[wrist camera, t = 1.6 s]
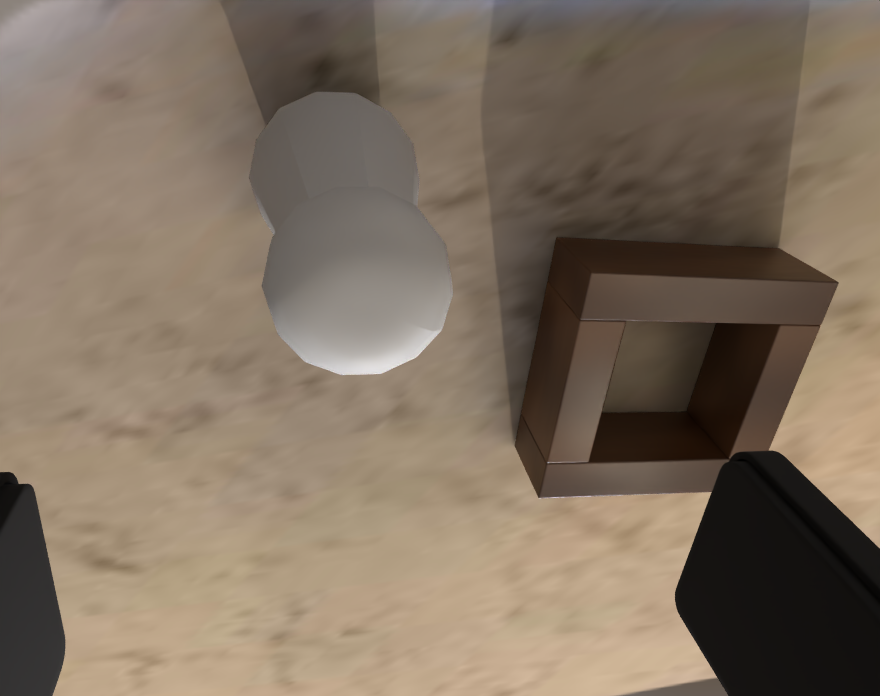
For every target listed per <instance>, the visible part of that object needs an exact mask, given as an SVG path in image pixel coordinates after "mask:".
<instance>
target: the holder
mask: <svg viewBox="0 0 880 696" xmlns="http://www.w3.org/2000/svg"><path fill="white" fill-rule="evenodd" d="M837 286H838V282H837V281H835V280H834V279H832V278H830V277H828V276H827V275H825V274H823V273H821V272H820V271H818V270H816V269H814V268H813V267H811V266H809V265H807V264H806V263H804V262H802V261H800V260H799V259H797V258H795V257H793V256H792V255H790V254H788V253H786V252H785V251H783V250H781V249H777V248H758V247H738V246H718V245H698V244H679V243H659V242H639V241H619V240H600V239H580V238H560V237H557V238H556V242H555V247H554V252H553V257H552V262H551V267H550V272H549V277H548V282H547V287H546V292H545V297H544V302H543V307H542V312H541V317H540V322H539V327H538V332H537V337H536V342H535V347H534V352H533V357H532V362H531V366H530V371H529V376H528V381H527V386H526V391H525V396H524V401H523V406H522V411H521V413H522V414H521V417H520V422H519V426H518V431H517V436H516V441H515V448H516V450H517V452H518V454H519V457H520V459H521V461H522V463H523V465H524V467H525V470H526V472H527V474H528V476H529V478H530V480H531V483H532V485H533V487H534V489H535V491H536V493H537V496H538V498H563V497H590V496H617V495H644V494H671V493H698V492H712V490H713V487H714V485H715V482H716V479H717V477H718V474H719V471H720V469H721V467H722V465H724V464H725V463H726V462H729V460H730V458H731V457H732V456H733V455H734V454H735V453H737V452H743V451H768V450H769V448H770V446H771V443H772V441H773V439H774V436H775V434H776V431H777V429H778V427H779V424H780V422H781V419H782V417H783V415H784V412H785V410H786V407H787V405H788V403H789V400H790V398H791V395H792V393H793V391H794V388H795V386H796V383H797V381H798V379H799V376H800V374H801V372H802V369H803V367H804V364H805V362H806V360H807V357H808V355H809V352H810V350H811V348H812V345H813V343H814V340H815V338H816V336H817V333H818V331H819V328H820V325H821V324H822V322H823V319H824V317H825V314H826V312H827V310H828V307H829V305H830V302H831V300H832V298H833V295H834V293H835V290H836V288H837ZM626 321H665V322H708V323H717V324H716V327H715V329H714V332H713V335H712V338H711V341H710V344H709V347H708V350H707V353H706V356H705V359H704V362H703V365H702V368H701V371H700V374H699V377H698V380H697V383H696V386H695V389H694V392H693V395H692V398H691V401H690V404H689V407H688V409H687V412H639V413H602V410H603V406H604V402H605V398H606V395H607V391H608V387H609V383H610V380H611V376H612V372H613V369H614V365H615V361H616V357H617V354H618V350H619V346H620V342H621V339H622V335H623V331H624V327H625V324H626Z"/></svg>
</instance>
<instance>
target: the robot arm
mask: <svg viewBox="0 0 880 696" xmlns="http://www.w3.org/2000/svg"><path fill="white" fill-rule="evenodd" d="M675 602H676V607H677V610H678V613H679V615H680V617H681V618H682V620H683V622H684V623H685V625H686V627H687V628H688V630H689V632H690V633H691V635H692V636H693V638H694V640H695V641H696V643H697V645H698V646H699V648H700V650H701V651H702V653H703V655H704V656H705V658H706V659H707V661H708V663H709V664H710V666H711V668H712V669H713V671H714V673H715V674H716V676H717V678H718V679H719V681H720V682H721V684H722V686H723V687H724V689H725V691H726V692H727V694H728V696H880V548H878V547H877V546H876V545H875V544H874V543H873V542H872V541H871V540H870V539H869V538H868V537H867V536H866V535H865V534H864V533H863V532H862V531H861V530H860V529H859V528H858V527H857V526H856V525H855V524H854V523H853V522H852V521H851V520H850V519H849V518H848V517H846V516H845V515H844V514H843V513H842V512H841V511H840V510H839V509H838V508H837V507H836V506H835V505H834V504H833V503H832V502H831V501H830V500H829V499H828V498H827V497H826V496H825V495H824V494H823V493H822V492H821V491H820V490H819V489H818V488H817V487H815V486H814V485H813V484H812V483H811V482H810V481H809V480H808V479H807V478H806V477H805V476H804V475H803V474H802V473H801V472H800V471H799V470H798V469H797V468H796V467H795V466H794V465H793V464H792V463H791V462H790V461H789V460H788V459H787V458H786V457H785V456H783V455H782V454H780V453H779V452H776V451H743V452H737V453H735V454H734V455H733V456H732V457H731V458H730V460H729V462H726V463H725V464H724V465H722V467H721V469H720V471H719V474H718V477H717V479H716V482H715V485H714V487H713V490H712V493H711V496H710V498H709V501H708V504H707V506H706V509H705V512H704V515H703V517H702V520H701V523H700V525H699V528H698V531H697V533H696V536H695V539H694V542H693V544H692V547H691V550H690V552H689V555H688V558H687V561H686V563H685V566H684V569H683V571H682V574H681V577H680V580H679V582H678V585H677V588H676V592H675ZM64 655H65V634H64V629H63V625H62V620H61V615H60V610H59V605H58V601H57V596H56V591H55V586H54V582H53V577H52V572H51V567H50V563H49V558H48V553H47V548H46V544H45V539H44V534H43V529H42V524H41V520H40V515H39V510H38V505H37V501H36V496H35V492H34V489H33V487H32V486H31V485H30V484H18V481H17V478H16V477H15V475H14V474H13V473H10V472H0V696H52V695H53V693H54V690H55V687H56V684H57V681H58V678H59V675H60V672H61V669H62V665H63V661H64Z"/></svg>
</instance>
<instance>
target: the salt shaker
mask: <svg viewBox="0 0 880 696" xmlns="http://www.w3.org/2000/svg"><path fill="white" fill-rule="evenodd" d="M249 179H250V182H251V185H252V188H253V191H254V194H255V197H256V200H257V203H258V206H259V209H260V212H261V215H262V216H263V218H264V220H265V222H266V223H267V225H268V227H269V228H270V230H271V232H272V233H273V235H274V236H273V237H272V240H271V244H270V247H269V252H268V257H267V262H266V267H265V272H264V277H263V282H262V288H263V291H264V294H265V297H266V300H267V303H268V306H269V309H270V312H271V315H272V318H273V321H274V324H275V327H276V330H277V333H278V335H279V336H280V337H281V338H282V339H283V340H284V341H285V342H286V343H287V344H288V345H289V346H290V347H291V348H292V349H293V350H294V351H295V352H296V353H297V354H298V355H299V356H300V357H301V358H302V359H303V360H304V361H305V362H307V363H310V364H312V365H315V366H318V367H321V368H324V369H326V370H329V371H332V372H335V373H338V374H341V375H356V374H381V373H384V372H386V371H388V370H390V369H392V368H394V367H397V366H399V365H401V364H403V363H405V362H407V361H409V360H412V359H414V358H416V357H417V356H418V355H419V354H420V353H421V352H422V351H423V349H424V348H425V347H426V346H427V345H428V344H429V343H430V342H431V341H432V340H433V339H434V338H435V337H436V336H437V335H438V334H439V333H440V332H441V330H442V328H443V325H444V322H445V318H446V315H447V312H448V309H449V305H450V302H451V299H452V296H453V290H452V280H451V274H450V267H449V260H448V254H447V247H446V244H445V243H444V241H443V240H442V239H441V237H440V236H439V234H438V233H437V232H436V231H435V229H434V228H433V227H432V225H431V224H430V223H429V222H428V220H427V219H426V218H425V216H424V215H423V214H422V213H421V211H420V210H419V209H418V207H417V203H418V192H419V174H418V168H417V163H416V157H415V151H414V146H413V143H412V141H411V140H410V138H409V137H408V136H407V134H406V133H405V132H404V130H403V129H402V127H401V126H400V125H399V123H398V122H397V120H396V119H395V118H394V116H393V115H392V114H391V112H389V111H387V110H386V109H384V108H382V107H380V106H378V105H377V104H375V103H373V102H371V101H369V100H368V99H366V98H364V97H362V96H360V95H358V94H357V93H345V92H314V93H312V94H310V95H307V96H305V97H303V98H301V99H298V100H296V101H294V102H292V103H290V104H287V105H285V106H283V107H281V108H279V109H278V110H277V112H276V113H275V115H274V116H273V117H272V119H271V120H270V121H269V123H268V124H267V126H266V127H265V128H264V130H263V131H262V132H261V134H260V135H259V137H258V138H257V139H256V144H255V149H254V154H253V160H252V165H251V170H250V175H249Z"/></svg>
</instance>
